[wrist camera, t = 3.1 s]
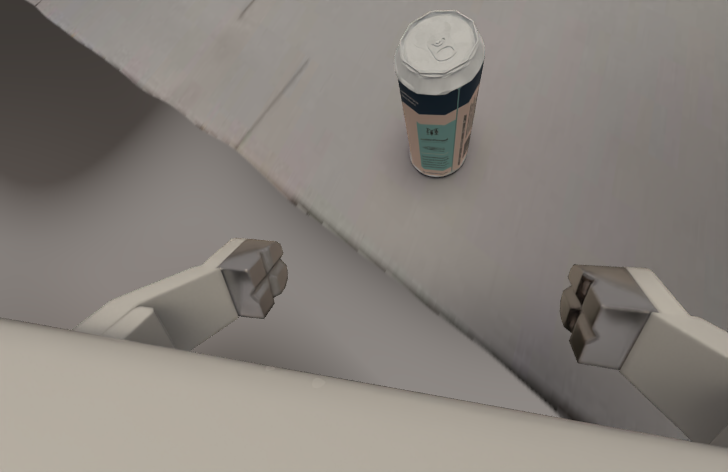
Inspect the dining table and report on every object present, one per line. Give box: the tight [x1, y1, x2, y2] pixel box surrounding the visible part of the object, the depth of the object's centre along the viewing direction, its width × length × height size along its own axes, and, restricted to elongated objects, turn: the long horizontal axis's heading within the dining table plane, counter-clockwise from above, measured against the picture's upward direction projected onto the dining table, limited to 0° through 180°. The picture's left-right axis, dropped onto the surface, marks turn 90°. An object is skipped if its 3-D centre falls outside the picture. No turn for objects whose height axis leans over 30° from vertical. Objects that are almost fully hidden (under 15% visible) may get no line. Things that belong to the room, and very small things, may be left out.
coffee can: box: [394, 10, 485, 177], centre depth 22 cm, size 5×5×12 cm
